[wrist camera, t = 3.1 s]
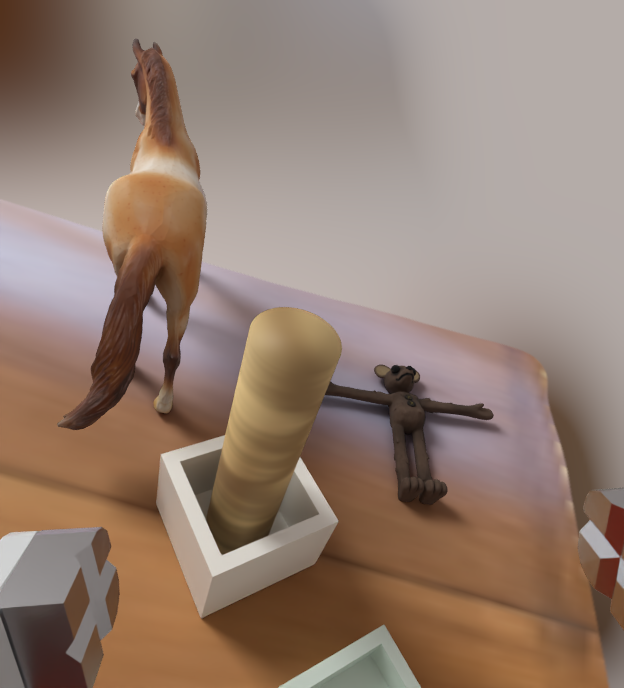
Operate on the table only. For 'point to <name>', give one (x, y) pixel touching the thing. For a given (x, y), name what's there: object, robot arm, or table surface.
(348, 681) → the tray
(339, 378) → the table surface
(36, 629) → the robot arm
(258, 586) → the white square box
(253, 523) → the dowel
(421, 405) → the bear figurine
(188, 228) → the horse figurine
